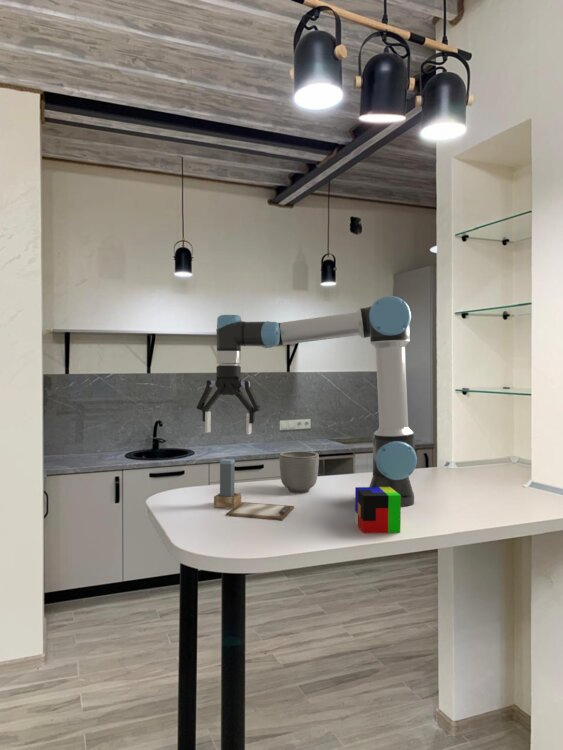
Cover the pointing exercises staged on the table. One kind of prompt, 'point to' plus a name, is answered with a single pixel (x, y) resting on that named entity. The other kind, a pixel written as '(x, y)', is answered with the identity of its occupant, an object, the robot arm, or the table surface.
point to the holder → (227, 501)
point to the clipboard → (261, 511)
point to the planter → (299, 470)
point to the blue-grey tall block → (227, 477)
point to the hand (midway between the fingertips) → (228, 433)
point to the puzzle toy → (377, 509)
